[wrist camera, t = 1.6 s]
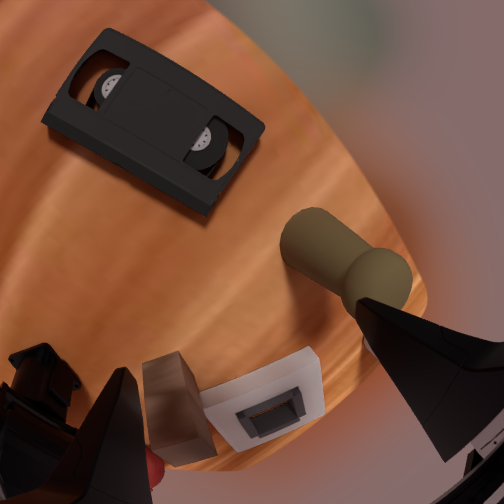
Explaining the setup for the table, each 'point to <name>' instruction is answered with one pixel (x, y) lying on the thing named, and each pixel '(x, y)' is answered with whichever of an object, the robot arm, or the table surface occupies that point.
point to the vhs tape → (155, 121)
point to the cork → (344, 260)
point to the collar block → (267, 400)
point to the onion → (154, 468)
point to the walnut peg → (175, 412)
